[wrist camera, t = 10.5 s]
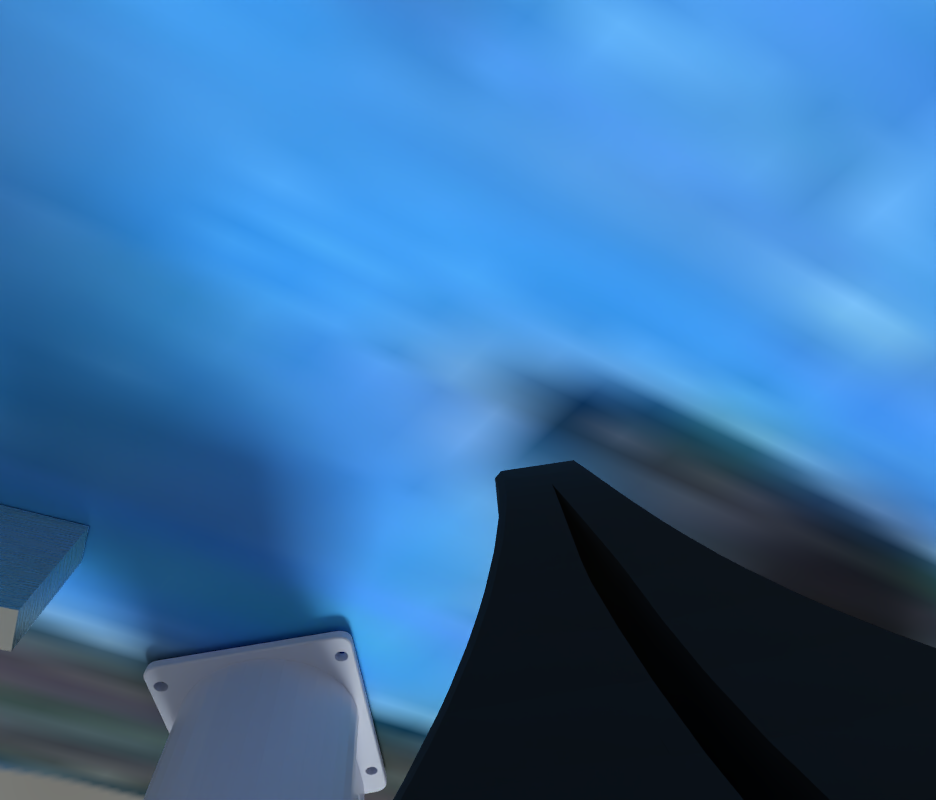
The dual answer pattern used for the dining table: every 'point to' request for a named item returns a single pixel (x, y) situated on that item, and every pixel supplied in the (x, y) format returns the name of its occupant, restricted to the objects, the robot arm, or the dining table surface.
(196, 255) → the dining table surface
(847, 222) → the dining table surface
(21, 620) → the motor block
